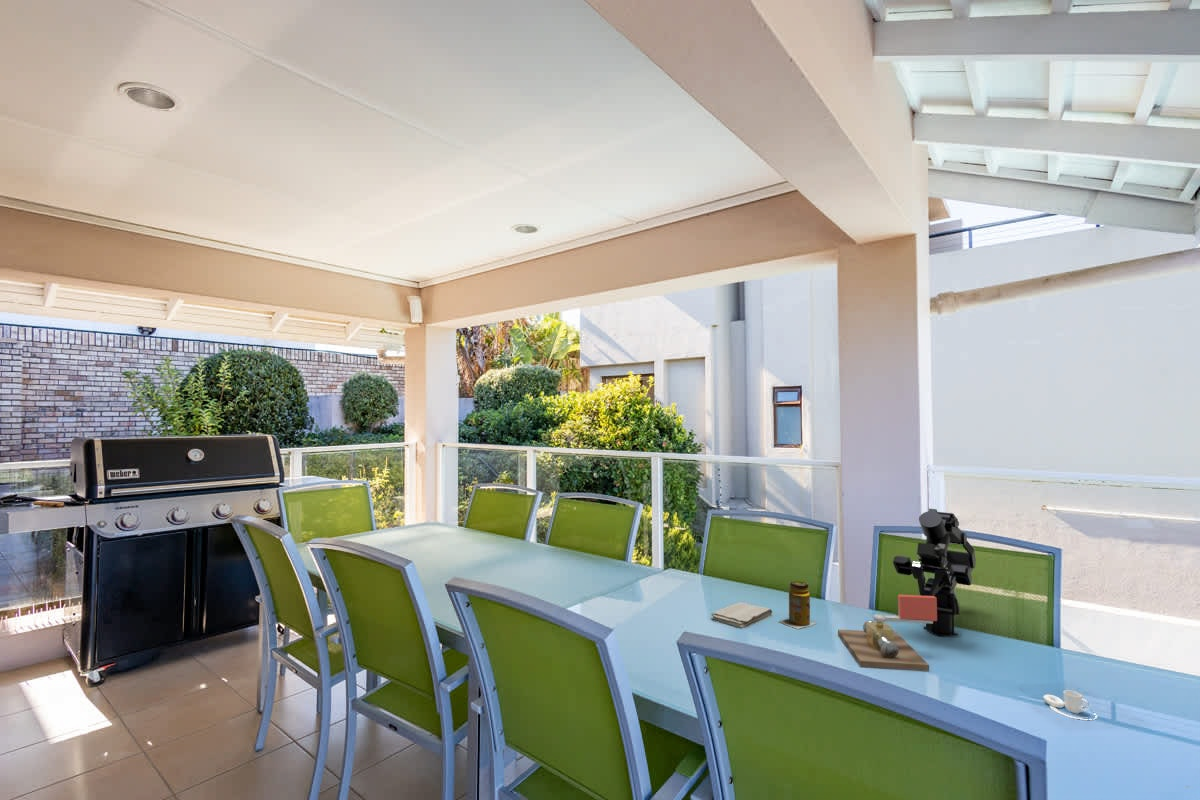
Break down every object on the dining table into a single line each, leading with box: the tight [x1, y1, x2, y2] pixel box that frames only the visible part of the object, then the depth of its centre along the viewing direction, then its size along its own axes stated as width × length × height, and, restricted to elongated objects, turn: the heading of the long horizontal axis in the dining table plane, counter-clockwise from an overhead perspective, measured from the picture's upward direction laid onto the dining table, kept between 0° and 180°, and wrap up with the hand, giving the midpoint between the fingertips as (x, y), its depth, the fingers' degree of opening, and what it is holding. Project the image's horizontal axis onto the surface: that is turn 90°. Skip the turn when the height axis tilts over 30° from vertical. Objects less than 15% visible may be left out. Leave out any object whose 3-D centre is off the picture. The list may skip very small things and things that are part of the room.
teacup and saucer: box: [1043, 689, 1098, 721], centre depth 124 cm, size 9×8×4 cm
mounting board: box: [837, 629, 930, 672], centre depth 155 cm, size 22×16×2 cm
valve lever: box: [873, 594, 937, 624], centre depth 155 cm, size 15×3×7 cm, turn 81°
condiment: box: [778, 580, 817, 630], centre depth 177 cm, size 7×8×12 cm
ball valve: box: [862, 620, 899, 658], centre depth 155 cm, size 16×5×6 cm, turn 171°
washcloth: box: [710, 601, 773, 629], centre depth 182 cm, size 12×18×3 cm, turn 136°
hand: (925, 596), depth 159 cm, fingers open, 2 cm apart
